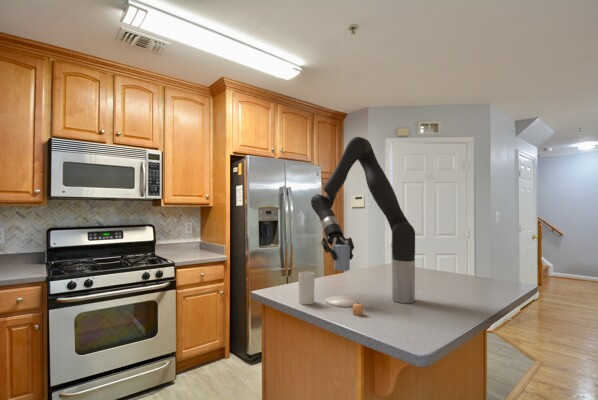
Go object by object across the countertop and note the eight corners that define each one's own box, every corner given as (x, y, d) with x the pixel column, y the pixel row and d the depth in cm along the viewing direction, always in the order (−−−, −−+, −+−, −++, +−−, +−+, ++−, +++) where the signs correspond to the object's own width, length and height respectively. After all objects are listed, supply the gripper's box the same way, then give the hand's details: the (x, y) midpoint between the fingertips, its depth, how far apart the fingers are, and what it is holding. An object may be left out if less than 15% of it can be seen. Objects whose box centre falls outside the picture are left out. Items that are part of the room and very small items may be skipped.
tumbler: (339, 267, 139) (339, 244, 140) (351, 269, 135) (351, 245, 136) (331, 269, 135) (331, 245, 135) (343, 271, 131) (344, 246, 131)
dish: (337, 296, 144) (337, 294, 144) (363, 302, 135) (363, 299, 136) (319, 302, 134) (319, 300, 134) (346, 309, 126) (346, 306, 126)
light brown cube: (356, 312, 122) (356, 302, 122) (364, 314, 120) (364, 304, 120) (351, 314, 119) (351, 305, 119) (359, 316, 117) (359, 306, 117)
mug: (316, 304, 132) (316, 274, 132) (299, 305, 130) (300, 275, 131) (310, 297, 141) (311, 270, 142) (295, 298, 140) (295, 270, 141)
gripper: (319, 222, 140) (330, 254, 129) (348, 222, 145) (362, 252, 134) (314, 234, 145) (325, 265, 134) (343, 233, 150) (355, 263, 139)
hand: (343, 258), depth 134 cm, fingers closed on tumbler, 6 cm apart
